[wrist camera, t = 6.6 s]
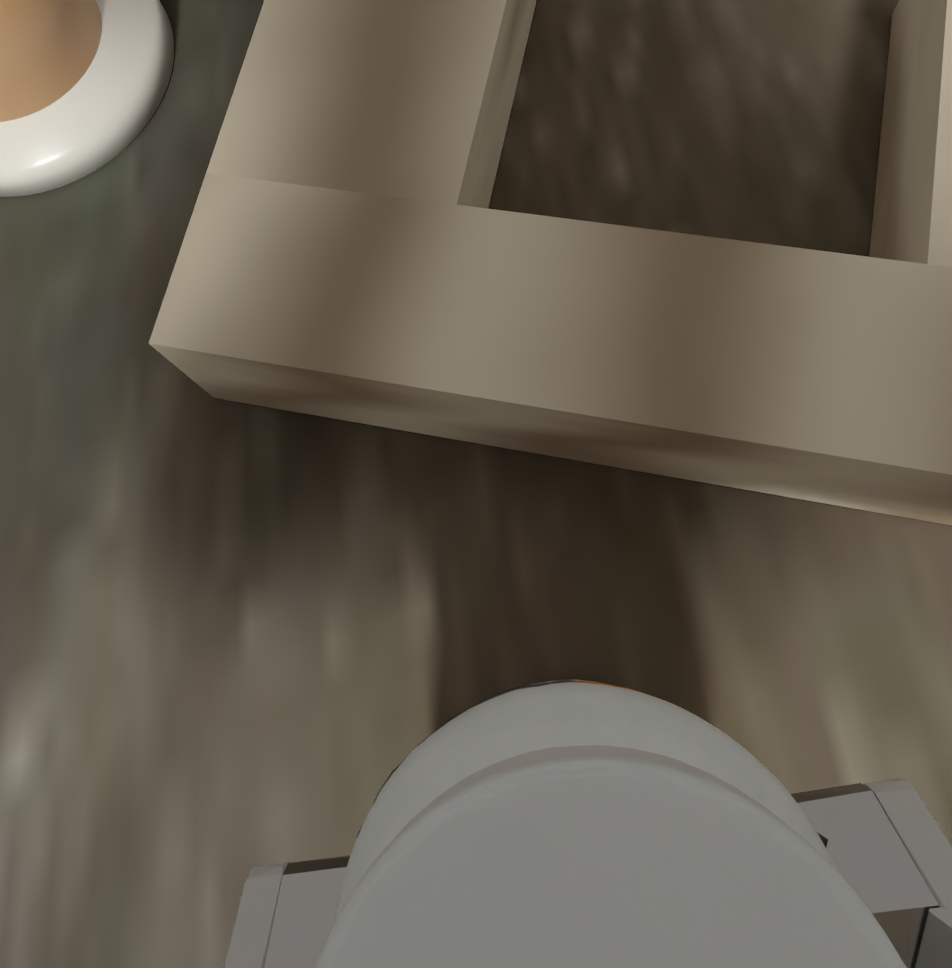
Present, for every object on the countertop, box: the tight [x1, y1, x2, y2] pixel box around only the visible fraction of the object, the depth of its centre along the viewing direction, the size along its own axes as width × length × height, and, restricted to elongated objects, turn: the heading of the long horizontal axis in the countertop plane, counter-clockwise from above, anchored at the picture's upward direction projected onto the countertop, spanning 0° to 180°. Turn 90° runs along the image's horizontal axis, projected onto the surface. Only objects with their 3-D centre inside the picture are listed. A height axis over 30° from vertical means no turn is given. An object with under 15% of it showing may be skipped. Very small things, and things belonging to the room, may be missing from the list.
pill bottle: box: [316, 679, 907, 968], centre depth 10 cm, size 6×6×10 cm
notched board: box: [149, 0, 952, 525], centre depth 16 cm, size 20×13×3 cm, turn 79°
